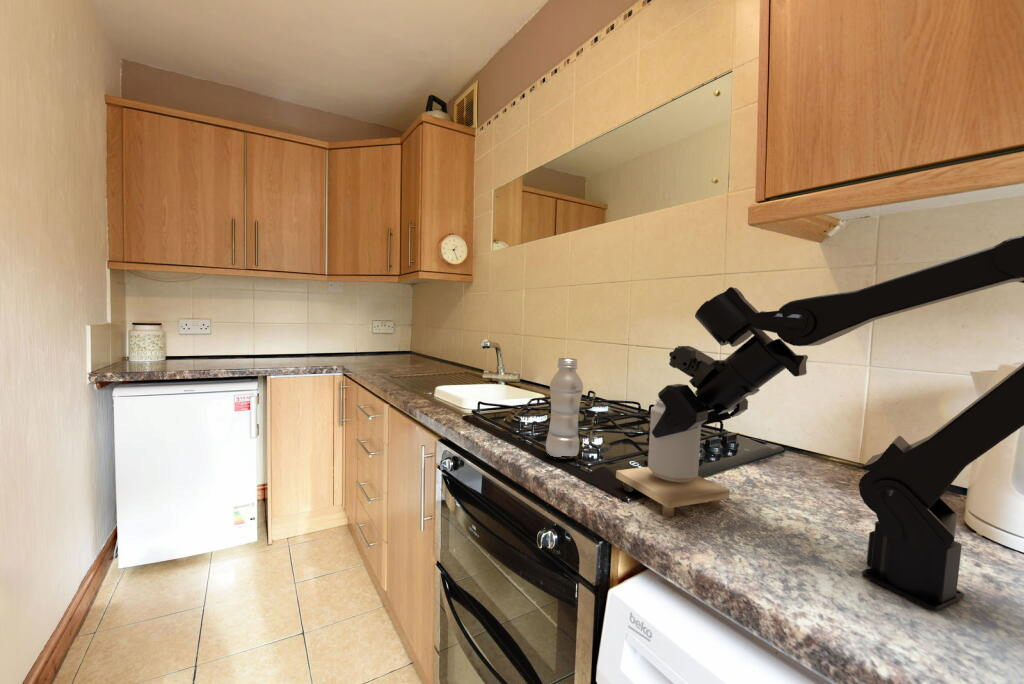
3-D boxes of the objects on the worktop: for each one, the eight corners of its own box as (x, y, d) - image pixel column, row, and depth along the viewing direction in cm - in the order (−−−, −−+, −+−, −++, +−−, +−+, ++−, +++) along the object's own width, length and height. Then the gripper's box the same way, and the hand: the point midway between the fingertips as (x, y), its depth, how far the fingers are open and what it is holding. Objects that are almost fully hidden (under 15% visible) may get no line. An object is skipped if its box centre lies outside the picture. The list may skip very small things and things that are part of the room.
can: (657, 483, 64) (662, 403, 64) (641, 466, 72) (645, 395, 71) (706, 484, 64) (711, 405, 64) (685, 467, 72) (689, 396, 71)
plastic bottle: (541, 453, 88) (546, 356, 87) (572, 452, 90) (578, 357, 88) (549, 463, 82) (555, 359, 81) (583, 463, 83) (589, 361, 82)
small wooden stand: (728, 509, 65) (729, 490, 65) (667, 520, 61) (669, 499, 60) (670, 480, 76) (671, 464, 76) (615, 488, 72) (616, 470, 71)
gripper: (732, 329, 70) (665, 387, 79) (675, 327, 58) (604, 395, 67) (783, 384, 65) (705, 439, 73) (732, 394, 52) (646, 459, 61)
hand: (666, 431), depth 69 cm, fingers closed on can, 7 cm apart
